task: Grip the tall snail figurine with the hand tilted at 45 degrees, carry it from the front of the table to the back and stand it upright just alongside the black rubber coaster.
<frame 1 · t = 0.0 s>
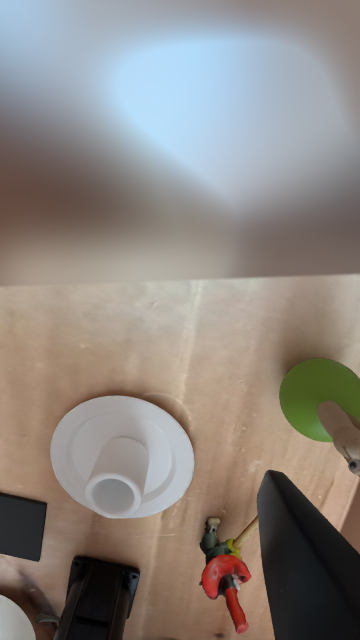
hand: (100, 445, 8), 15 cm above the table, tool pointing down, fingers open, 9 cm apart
candle holder: (124, 453, 26), on the table
circuit board: (0, 633, 30), point 2 cm above the table, touching figurine
snail figurine: (302, 374, 23), on the table
coaster: (7, 523, 28), on the table
toy figure: (236, 520, 27), on the table
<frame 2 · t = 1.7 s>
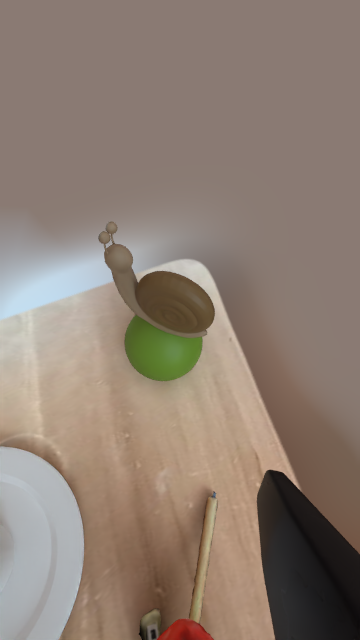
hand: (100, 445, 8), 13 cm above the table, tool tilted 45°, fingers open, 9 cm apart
snail figurine: (155, 353, 24), on the table
toy figure: (184, 599, 17), on the table
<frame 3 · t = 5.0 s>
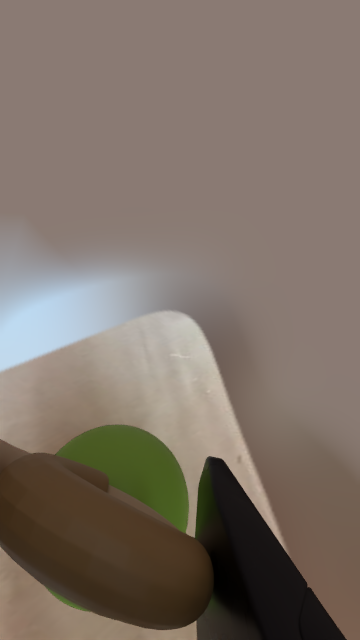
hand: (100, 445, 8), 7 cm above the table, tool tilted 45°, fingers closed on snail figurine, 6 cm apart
snail figurine: (106, 497, 13), on the table, touching gripper
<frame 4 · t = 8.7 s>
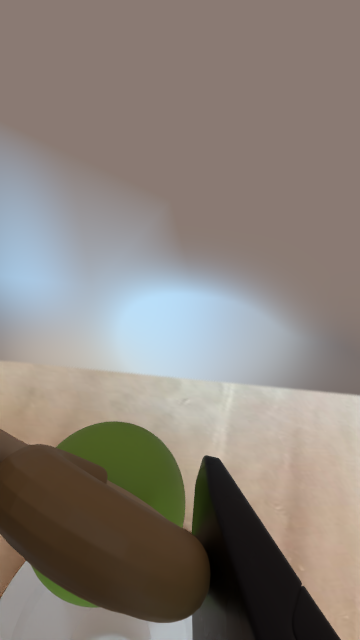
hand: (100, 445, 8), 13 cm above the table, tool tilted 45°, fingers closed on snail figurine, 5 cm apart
snail figurine: (103, 493, 13), point 6 cm above the table, touching gripper
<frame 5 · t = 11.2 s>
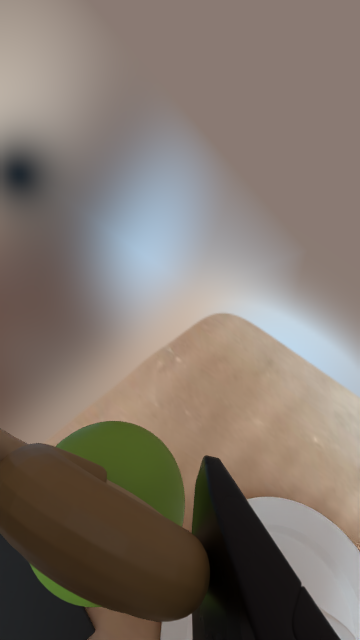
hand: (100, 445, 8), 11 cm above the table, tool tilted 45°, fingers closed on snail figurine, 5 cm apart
candle holder: (276, 630, 16), on the table
snail figurine: (102, 493, 13), point 5 cm above the table, touching gripper
when the fingers open (7 cm above the table, at t = 13.0 s): snail figurine stays where it is, on the table.
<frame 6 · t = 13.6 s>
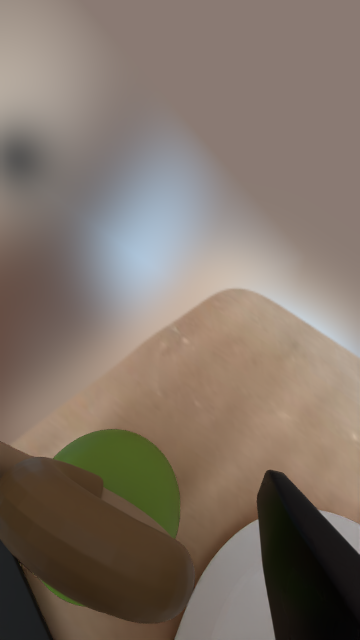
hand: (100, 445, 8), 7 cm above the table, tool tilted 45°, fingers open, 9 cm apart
snail figurine: (103, 497, 14), on the table
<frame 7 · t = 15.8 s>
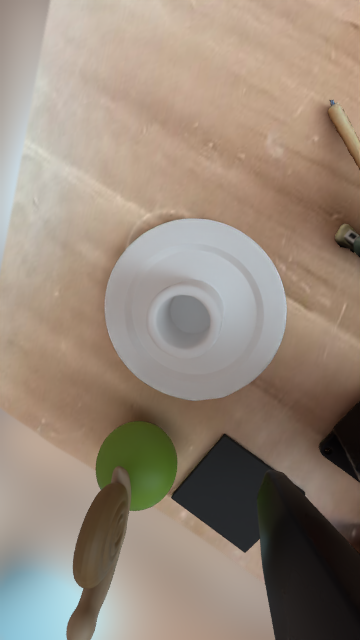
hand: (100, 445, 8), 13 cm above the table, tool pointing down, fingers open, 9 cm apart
candle holder: (192, 311, 21), on the table
snail figurine: (149, 444, 23), on the table
coaster: (235, 493, 23), on the table
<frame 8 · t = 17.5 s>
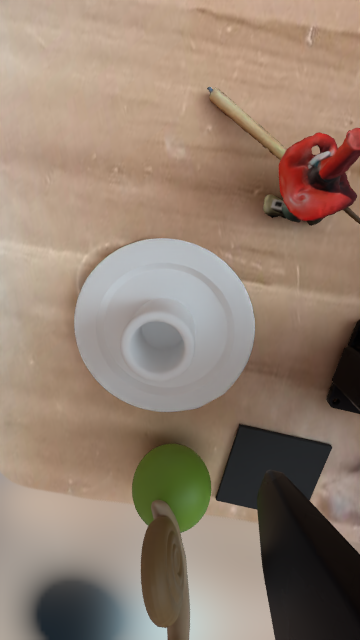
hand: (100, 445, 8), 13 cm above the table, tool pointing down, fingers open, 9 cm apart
candle holder: (164, 327, 21), on the table
snail figurine: (176, 461, 24), on the table
coaster: (271, 472, 23), on the table
toy figure: (273, 168, 18), on the table
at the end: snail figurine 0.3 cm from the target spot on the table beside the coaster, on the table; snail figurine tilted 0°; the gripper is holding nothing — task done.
